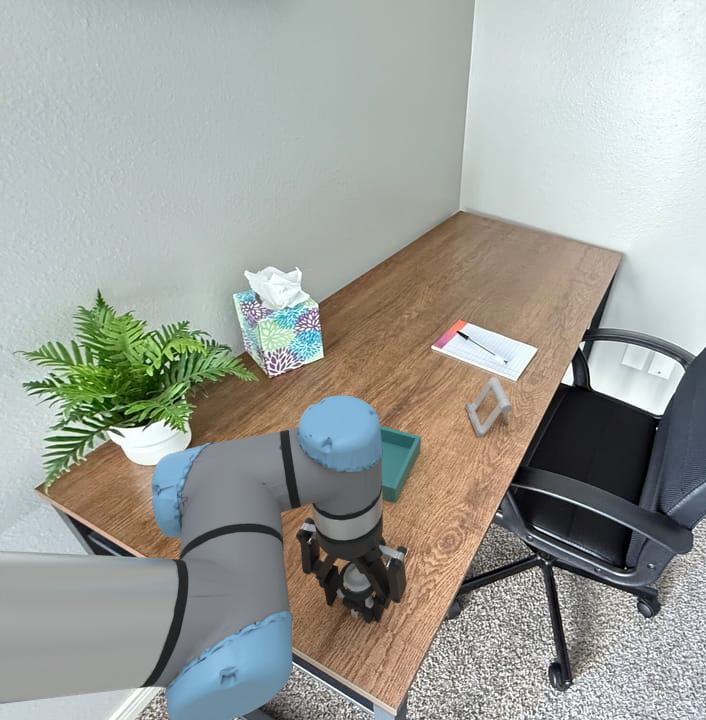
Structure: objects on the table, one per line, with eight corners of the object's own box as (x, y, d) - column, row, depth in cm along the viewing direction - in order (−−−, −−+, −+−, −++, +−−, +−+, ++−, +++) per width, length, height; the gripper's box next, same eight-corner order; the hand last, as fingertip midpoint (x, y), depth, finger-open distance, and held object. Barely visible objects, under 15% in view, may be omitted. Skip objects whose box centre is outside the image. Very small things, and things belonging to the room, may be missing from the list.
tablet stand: (464, 408, 101) (468, 380, 96) (498, 403, 104) (503, 375, 99) (476, 437, 95) (480, 409, 90) (511, 432, 98) (518, 403, 92)
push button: (326, 610, 66) (320, 576, 60) (350, 578, 70) (347, 542, 63) (365, 635, 64) (362, 602, 58) (387, 600, 68) (387, 566, 62)
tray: (298, 474, 84) (295, 460, 81) (332, 426, 93) (331, 411, 91) (395, 503, 81) (395, 489, 79) (420, 450, 91) (420, 436, 88)
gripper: (440, 508, 54) (429, 599, 68) (289, 463, 57) (308, 560, 71) (418, 568, 48) (411, 653, 63) (250, 515, 51) (280, 609, 65)
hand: (357, 604), depth 67 cm, fingers closed on push button, 6 cm apart
